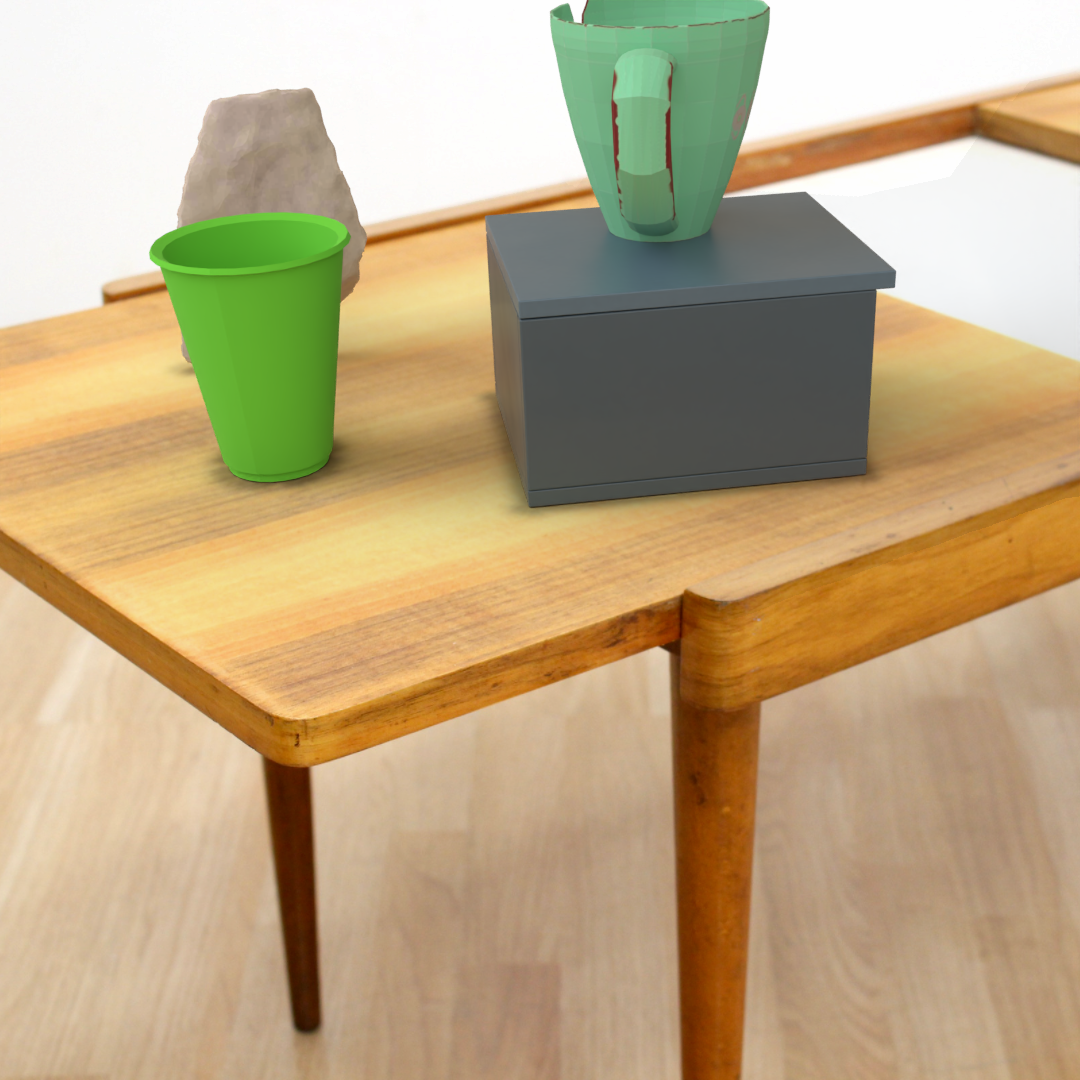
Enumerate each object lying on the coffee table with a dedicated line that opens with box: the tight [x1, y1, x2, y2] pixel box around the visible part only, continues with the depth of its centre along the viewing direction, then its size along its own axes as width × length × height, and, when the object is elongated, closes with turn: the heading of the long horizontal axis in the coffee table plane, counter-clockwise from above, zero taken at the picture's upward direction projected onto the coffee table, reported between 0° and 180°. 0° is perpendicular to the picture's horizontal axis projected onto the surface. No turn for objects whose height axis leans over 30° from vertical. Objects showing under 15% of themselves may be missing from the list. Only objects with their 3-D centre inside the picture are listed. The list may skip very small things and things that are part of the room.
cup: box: [148, 212, 351, 483], centre depth 73 cm, size 9×9×11 cm
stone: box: [176, 87, 368, 364], centre depth 84 cm, size 11×3×15 cm, turn 88°
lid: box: [484, 191, 897, 319], centre depth 72 cm, size 16×14×1 cm
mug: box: [549, 0, 771, 242], centre depth 69 cm, size 15×10×10 cm
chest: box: [485, 232, 878, 508], centre depth 74 cm, size 16×14×9 cm
